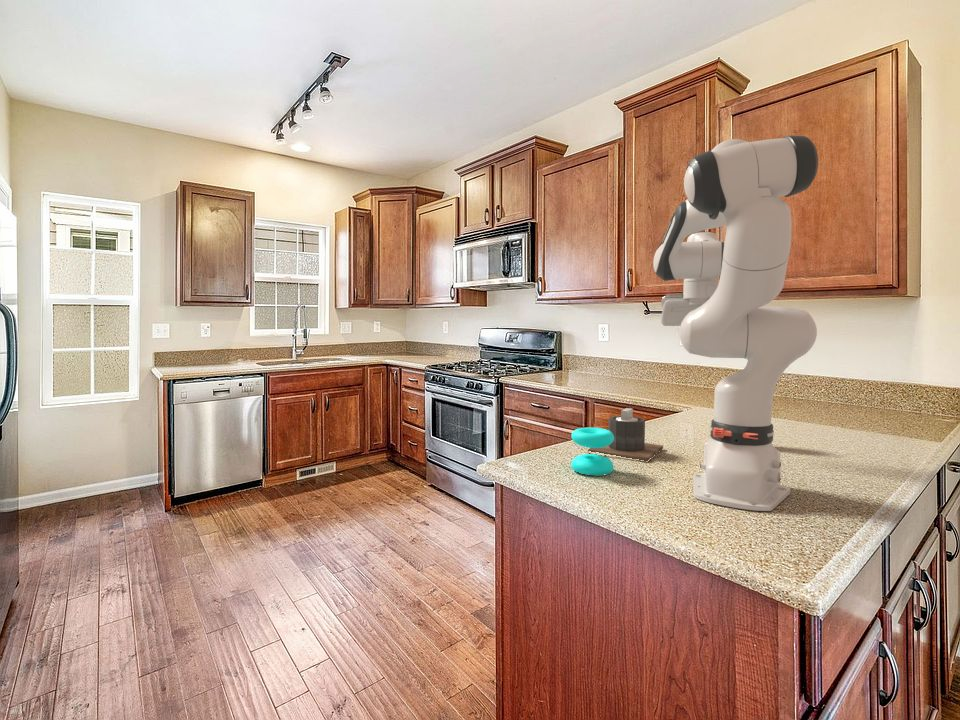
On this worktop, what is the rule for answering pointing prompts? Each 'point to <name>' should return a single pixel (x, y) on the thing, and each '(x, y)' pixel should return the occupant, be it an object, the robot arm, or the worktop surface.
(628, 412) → the block on round base
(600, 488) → the worktop surface
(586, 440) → the donuts
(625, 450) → the cylinder on base plate
